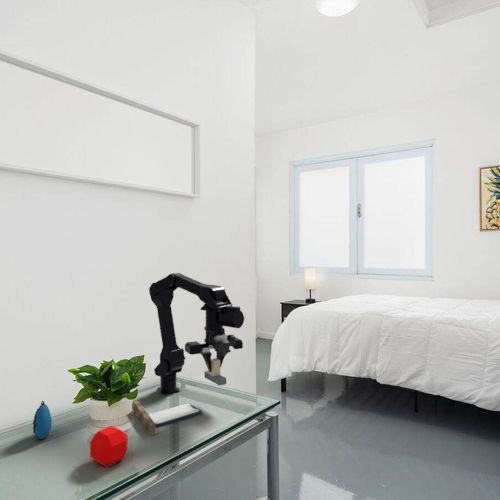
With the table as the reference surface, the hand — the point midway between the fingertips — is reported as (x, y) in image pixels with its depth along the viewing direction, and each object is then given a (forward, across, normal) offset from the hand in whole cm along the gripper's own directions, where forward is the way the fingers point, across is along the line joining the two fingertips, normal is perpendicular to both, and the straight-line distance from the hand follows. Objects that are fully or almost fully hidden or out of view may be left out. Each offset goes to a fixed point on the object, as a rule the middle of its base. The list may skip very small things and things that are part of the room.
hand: (214, 371), depth 145 cm
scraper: (+3, 0, -1) cm, 3 cm away
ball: (+11, -37, -23) cm, 45 cm away
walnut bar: (+11, -24, -4) cm, 27 cm away
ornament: (+11, -52, -2) cm, 53 cm away
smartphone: (+12, -15, -4) cm, 20 cm away
